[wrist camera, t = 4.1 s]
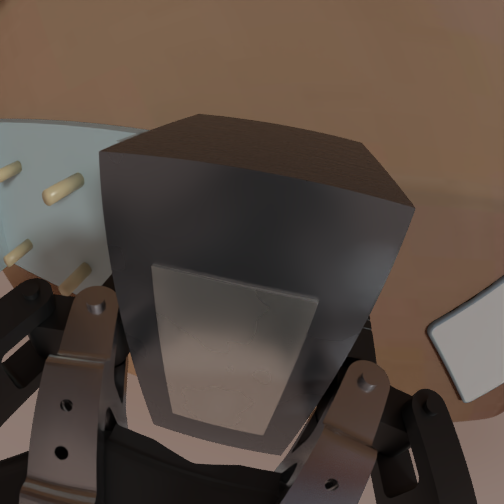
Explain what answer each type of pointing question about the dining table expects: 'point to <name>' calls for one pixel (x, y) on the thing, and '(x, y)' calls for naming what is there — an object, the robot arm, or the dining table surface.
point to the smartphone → (473, 342)
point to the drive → (245, 268)
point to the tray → (55, 199)
